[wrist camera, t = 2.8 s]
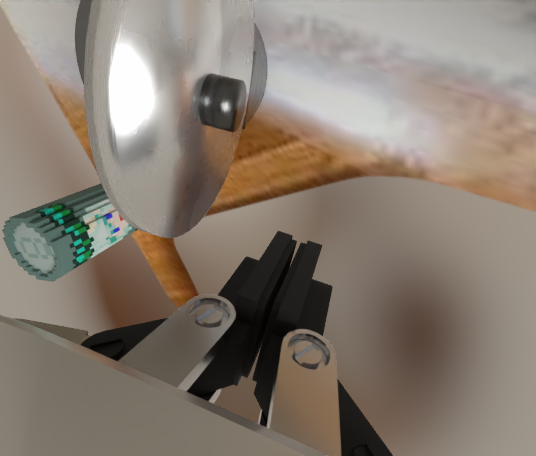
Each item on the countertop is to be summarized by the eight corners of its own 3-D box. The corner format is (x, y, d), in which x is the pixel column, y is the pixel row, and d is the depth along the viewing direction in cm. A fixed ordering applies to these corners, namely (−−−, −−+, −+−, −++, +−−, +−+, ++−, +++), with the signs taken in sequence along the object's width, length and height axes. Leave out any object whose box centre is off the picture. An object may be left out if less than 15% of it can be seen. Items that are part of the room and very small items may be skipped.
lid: (255, -36, 19) (295, -28, 19) (226, 180, 25) (255, 188, 25) (52, -276, 6) (175, -262, 6) (100, 291, 13) (157, 309, 12)
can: (169, 218, 40) (70, 283, 27) (131, 216, 42) (21, 277, 29) (158, 171, 38) (44, 219, 25) (118, 172, 40) (-8, 216, 27)
